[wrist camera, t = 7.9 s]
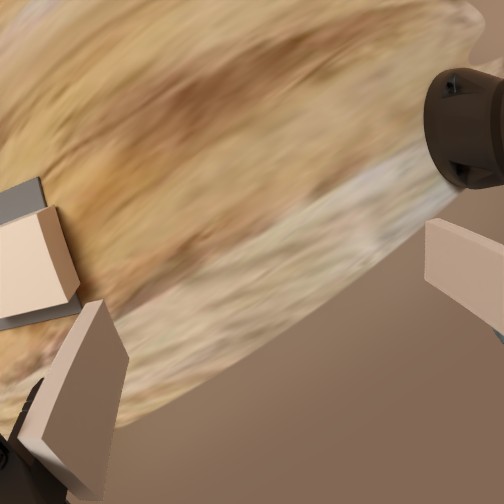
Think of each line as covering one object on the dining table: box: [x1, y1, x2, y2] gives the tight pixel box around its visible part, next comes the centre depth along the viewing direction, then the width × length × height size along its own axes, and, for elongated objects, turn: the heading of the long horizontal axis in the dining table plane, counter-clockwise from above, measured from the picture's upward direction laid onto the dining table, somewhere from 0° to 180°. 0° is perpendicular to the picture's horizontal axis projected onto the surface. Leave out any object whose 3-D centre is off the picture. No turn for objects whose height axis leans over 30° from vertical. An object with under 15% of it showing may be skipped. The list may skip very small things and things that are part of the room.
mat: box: [0, 177, 83, 330], centre depth 25 cm, size 13×14×1 cm
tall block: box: [0, 205, 80, 318], centre depth 24 cm, size 4×8×12 cm
